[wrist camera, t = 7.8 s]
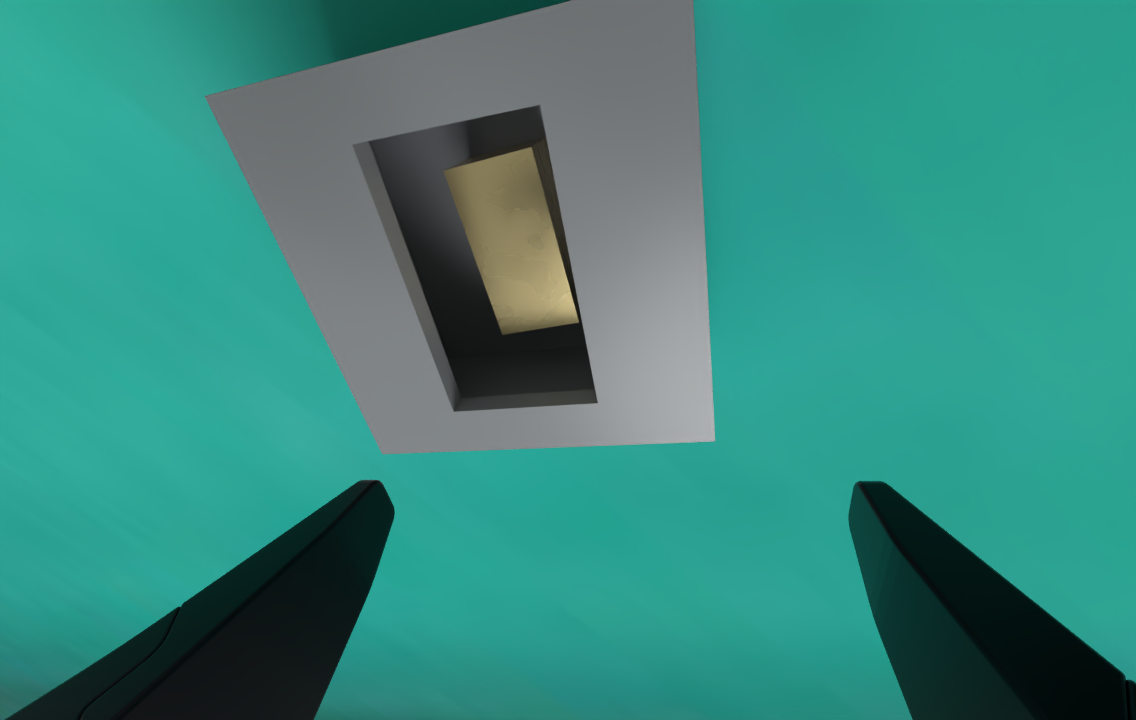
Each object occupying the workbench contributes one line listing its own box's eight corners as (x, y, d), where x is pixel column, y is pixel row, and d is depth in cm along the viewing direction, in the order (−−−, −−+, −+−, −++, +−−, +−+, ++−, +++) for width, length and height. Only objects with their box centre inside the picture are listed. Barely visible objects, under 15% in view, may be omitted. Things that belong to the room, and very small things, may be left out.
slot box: (680, 1, 14) (691, -32, 9) (701, 347, 20) (714, 441, 15) (337, 86, 17) (204, 95, 12) (443, 368, 23) (382, 454, 18)
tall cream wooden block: (547, 136, 17) (531, 146, 15) (587, 294, 19) (578, 322, 17) (469, 157, 17) (443, 170, 15) (518, 306, 20) (502, 335, 18)
